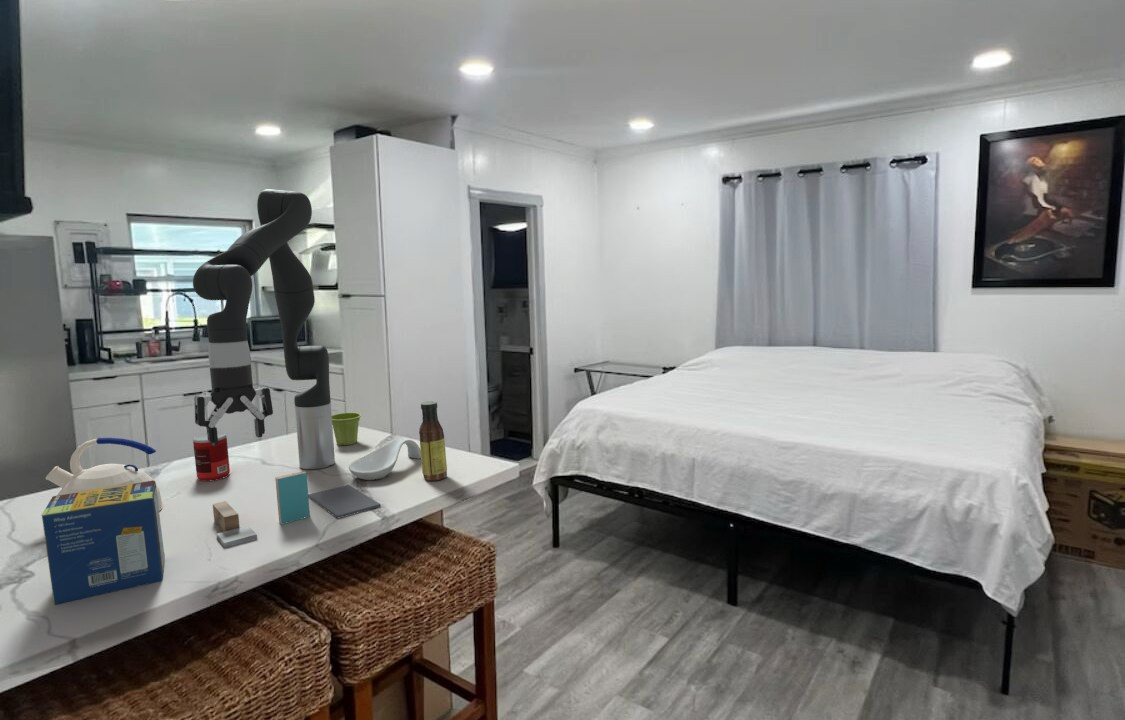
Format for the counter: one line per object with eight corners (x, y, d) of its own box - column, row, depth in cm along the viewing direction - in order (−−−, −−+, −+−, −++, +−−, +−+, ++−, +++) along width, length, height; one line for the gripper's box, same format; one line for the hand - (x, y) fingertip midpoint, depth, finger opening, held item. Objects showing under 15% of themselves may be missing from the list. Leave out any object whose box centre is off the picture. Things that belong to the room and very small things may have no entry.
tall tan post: (205, 523, 135) (203, 506, 134) (236, 516, 139) (234, 499, 138) (224, 547, 123) (222, 528, 122) (257, 538, 127) (255, 520, 126)
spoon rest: (376, 487, 157) (374, 459, 156) (339, 481, 161) (337, 454, 160) (432, 460, 178) (431, 435, 177) (398, 456, 183) (397, 432, 182)
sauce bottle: (450, 474, 165) (446, 400, 162) (443, 482, 159) (439, 405, 156) (425, 473, 165) (422, 400, 163) (418, 481, 159) (414, 405, 156)
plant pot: (368, 442, 196) (366, 415, 195) (338, 449, 190) (336, 421, 189) (354, 437, 203) (352, 411, 202) (326, 443, 197) (324, 416, 196)
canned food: (232, 470, 171) (228, 431, 169) (227, 479, 164) (223, 438, 162) (200, 473, 169) (196, 434, 167) (193, 483, 161) (189, 441, 160)
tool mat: (307, 496, 150) (307, 494, 150) (348, 486, 156) (348, 484, 156) (337, 518, 136) (337, 515, 136) (380, 506, 143) (380, 503, 143)
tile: (279, 522, 135) (275, 477, 134) (307, 514, 139) (304, 471, 137) (281, 524, 134) (277, 479, 132) (310, 516, 138) (306, 472, 136)
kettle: (70, 507, 146) (59, 432, 143) (172, 495, 153) (164, 422, 150) (32, 542, 127) (20, 456, 125) (151, 526, 134) (142, 444, 132)
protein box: (63, 579, 111) (51, 495, 109) (165, 558, 119) (156, 479, 117) (52, 606, 102) (39, 515, 100) (163, 581, 110) (154, 496, 108)
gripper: (260, 358, 136) (266, 431, 138) (186, 365, 126) (194, 444, 128) (273, 361, 131) (279, 437, 133) (196, 369, 121) (204, 451, 123)
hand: (237, 440), depth 131 cm, fingers open, 8 cm apart
